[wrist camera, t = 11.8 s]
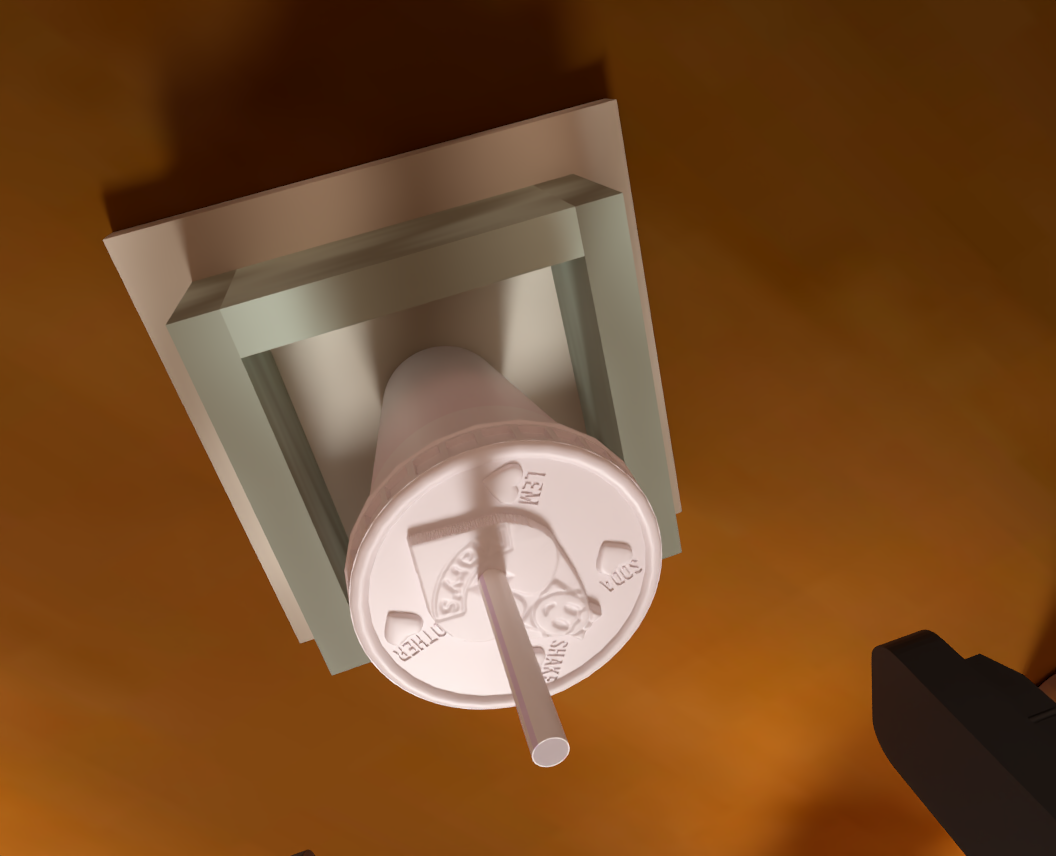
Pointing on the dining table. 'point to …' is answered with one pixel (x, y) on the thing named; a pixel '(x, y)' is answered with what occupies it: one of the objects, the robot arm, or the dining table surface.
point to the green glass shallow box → (401, 326)
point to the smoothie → (495, 547)
